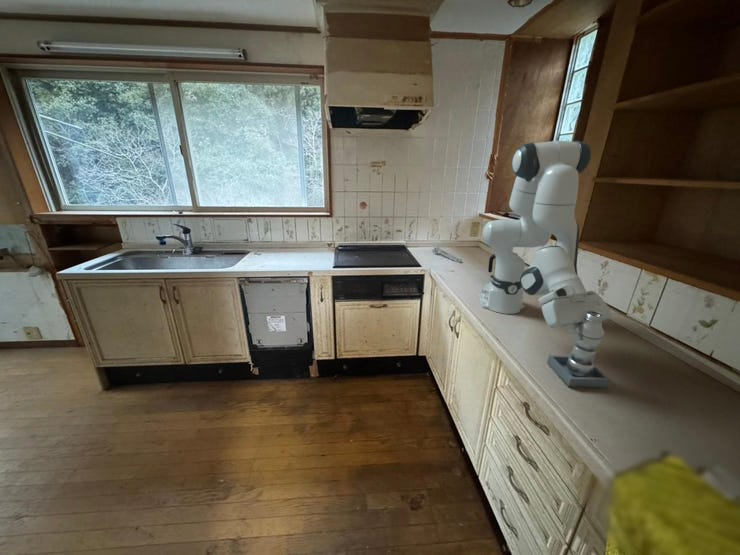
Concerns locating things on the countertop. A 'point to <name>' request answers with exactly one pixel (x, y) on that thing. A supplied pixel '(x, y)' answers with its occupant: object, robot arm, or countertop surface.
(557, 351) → the countertop surface
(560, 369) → the holder
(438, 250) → the wrench
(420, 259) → the countertop surface
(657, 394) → the countertop surface
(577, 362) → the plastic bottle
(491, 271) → the milk frother
